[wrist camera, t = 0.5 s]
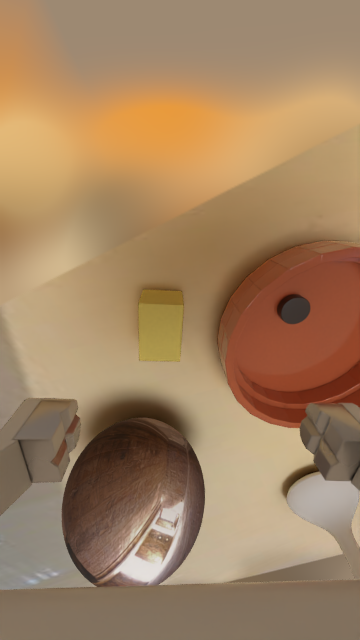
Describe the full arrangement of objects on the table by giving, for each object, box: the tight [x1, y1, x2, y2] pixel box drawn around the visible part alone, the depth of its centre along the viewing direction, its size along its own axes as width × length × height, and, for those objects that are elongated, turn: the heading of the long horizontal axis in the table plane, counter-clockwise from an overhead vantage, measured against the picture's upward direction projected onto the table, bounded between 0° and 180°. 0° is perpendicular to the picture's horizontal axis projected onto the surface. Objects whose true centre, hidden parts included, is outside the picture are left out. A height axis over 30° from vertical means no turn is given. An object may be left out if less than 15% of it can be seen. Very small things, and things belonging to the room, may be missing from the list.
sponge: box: [138, 289, 184, 362], centre depth 24 cm, size 6×4×4 cm, turn 177°
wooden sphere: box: [62, 418, 205, 587], centre depth 26 cm, size 15×15×15 cm
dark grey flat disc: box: [277, 294, 310, 324], centre depth 24 cm, size 3×3×1 cm
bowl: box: [217, 241, 360, 428], centre depth 25 cm, size 20×20×5 cm
